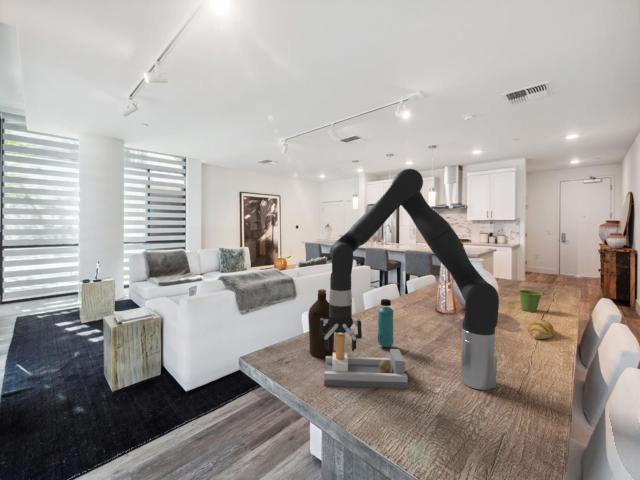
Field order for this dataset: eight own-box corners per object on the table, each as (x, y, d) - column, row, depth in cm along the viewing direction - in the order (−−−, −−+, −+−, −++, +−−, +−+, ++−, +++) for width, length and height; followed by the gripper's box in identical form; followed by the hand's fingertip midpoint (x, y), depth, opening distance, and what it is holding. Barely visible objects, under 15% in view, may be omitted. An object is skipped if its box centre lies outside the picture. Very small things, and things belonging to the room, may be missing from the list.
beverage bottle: (396, 347, 123) (397, 299, 122) (388, 352, 118) (388, 302, 117) (382, 342, 128) (383, 296, 127) (374, 347, 123) (374, 299, 122)
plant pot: (523, 313, 173) (524, 293, 172) (513, 307, 184) (514, 289, 184) (546, 314, 171) (547, 294, 170) (534, 308, 182) (535, 290, 182)
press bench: (398, 366, 106) (398, 346, 106) (407, 388, 92) (408, 364, 92) (325, 364, 107) (325, 344, 107) (324, 385, 93) (324, 362, 93)
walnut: (389, 369, 101) (389, 357, 101) (391, 375, 97) (392, 363, 97) (377, 368, 101) (378, 357, 101) (379, 374, 97) (379, 362, 97)
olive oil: (335, 358, 112) (336, 293, 111) (307, 358, 112) (307, 293, 111) (334, 347, 123) (334, 287, 121) (308, 347, 123) (309, 287, 122)
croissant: (543, 349, 130) (554, 336, 127) (519, 334, 136) (530, 320, 133) (550, 336, 145) (561, 324, 142) (529, 322, 151) (539, 310, 148)
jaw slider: (346, 363, 104) (347, 330, 104) (347, 376, 96) (348, 339, 95) (332, 363, 105) (332, 329, 104) (332, 375, 96) (332, 339, 95)
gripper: (361, 299, 102) (360, 345, 103) (319, 298, 103) (319, 344, 104) (363, 305, 95) (362, 355, 96) (318, 304, 96) (318, 354, 96)
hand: (340, 349), depth 100 cm, fingers open, 8 cm apart
